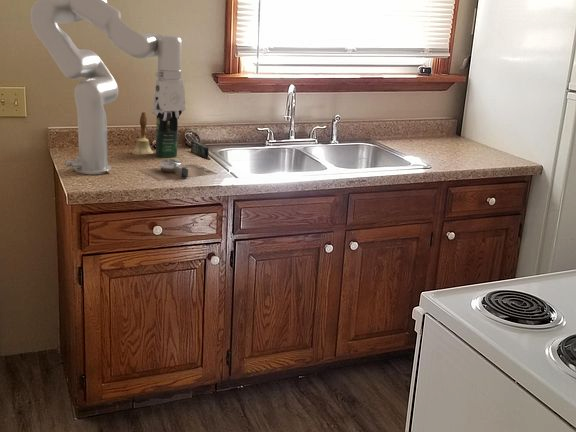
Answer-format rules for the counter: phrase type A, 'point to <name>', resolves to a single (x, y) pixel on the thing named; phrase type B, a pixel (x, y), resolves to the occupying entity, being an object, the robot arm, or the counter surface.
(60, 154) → the counter surface
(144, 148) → the hand bell
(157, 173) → the level board
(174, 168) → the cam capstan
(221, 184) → the counter surface
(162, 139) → the coffee jar
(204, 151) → the dark green box
